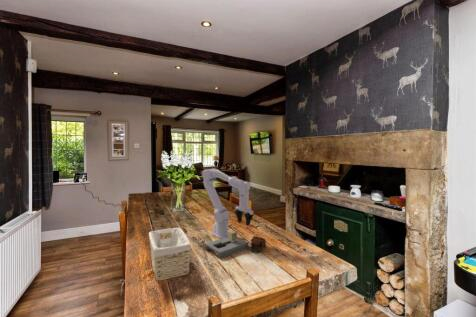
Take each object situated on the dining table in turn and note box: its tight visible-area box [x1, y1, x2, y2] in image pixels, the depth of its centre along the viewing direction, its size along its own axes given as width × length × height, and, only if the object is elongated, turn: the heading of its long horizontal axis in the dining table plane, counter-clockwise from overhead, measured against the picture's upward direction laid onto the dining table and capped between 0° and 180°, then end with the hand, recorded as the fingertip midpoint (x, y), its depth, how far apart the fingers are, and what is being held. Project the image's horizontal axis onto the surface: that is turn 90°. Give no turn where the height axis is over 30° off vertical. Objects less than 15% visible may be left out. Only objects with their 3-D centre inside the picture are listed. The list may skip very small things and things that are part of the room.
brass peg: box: [228, 230, 238, 243], centre depth 135 cm, size 4×4×9 cm
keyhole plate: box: [204, 236, 250, 260], centre depth 133 cm, size 20×14×4 cm
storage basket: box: [148, 227, 192, 281], centre depth 112 cm, size 24×16×15 cm
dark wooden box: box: [248, 235, 267, 253], centre depth 132 cm, size 12×10×8 cm
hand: (243, 223), depth 145 cm, fingers open, 7 cm apart
